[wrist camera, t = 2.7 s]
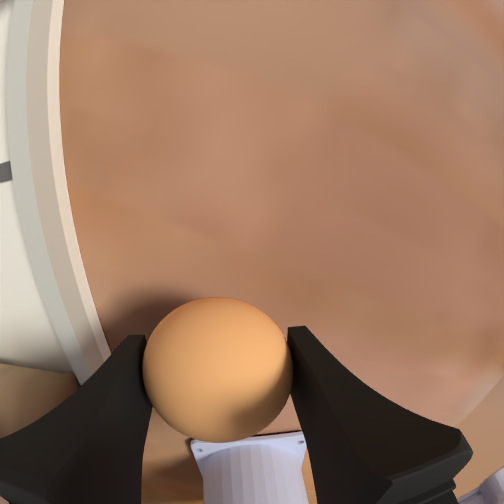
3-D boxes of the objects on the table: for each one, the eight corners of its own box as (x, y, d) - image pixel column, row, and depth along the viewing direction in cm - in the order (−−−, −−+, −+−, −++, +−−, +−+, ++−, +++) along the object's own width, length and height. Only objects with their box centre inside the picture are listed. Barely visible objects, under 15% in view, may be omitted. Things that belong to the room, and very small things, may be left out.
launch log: (114, 421, 15) (96, 502, 10) (5, 401, 15) (-23, 461, 9) (79, 349, 13) (37, 444, 8) (-33, 336, 12) (-78, 397, 7)
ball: (278, 366, 13) (300, 460, 9) (167, 372, 13) (154, 466, 8) (281, 266, 11) (317, 361, 7) (144, 274, 11) (103, 369, 6)
